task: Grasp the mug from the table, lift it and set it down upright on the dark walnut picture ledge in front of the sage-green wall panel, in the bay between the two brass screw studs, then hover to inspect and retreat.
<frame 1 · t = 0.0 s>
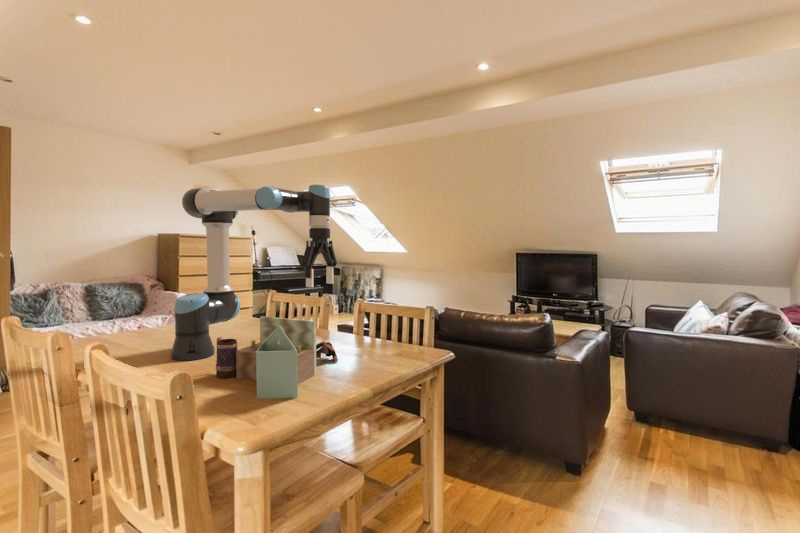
hand: (320, 285, 154), 28 cm above the table, fingers open, 13 cm apart
mug: (225, 375, 139), on the table
brown arched figurine: (324, 361, 155), on the table
planter: (269, 395, 121), on the table
wall shelf: (277, 376, 137), on the table
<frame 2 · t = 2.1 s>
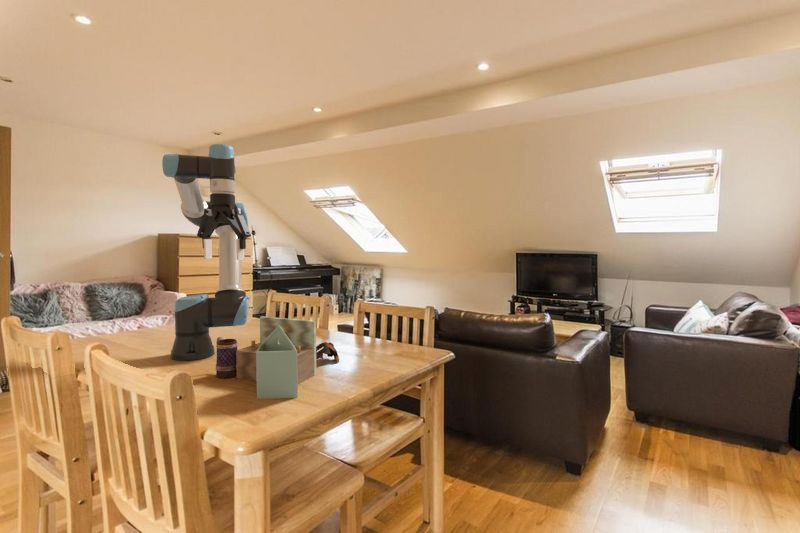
hand: (224, 259, 137), 38 cm above the table, fingers open, 13 cm apart
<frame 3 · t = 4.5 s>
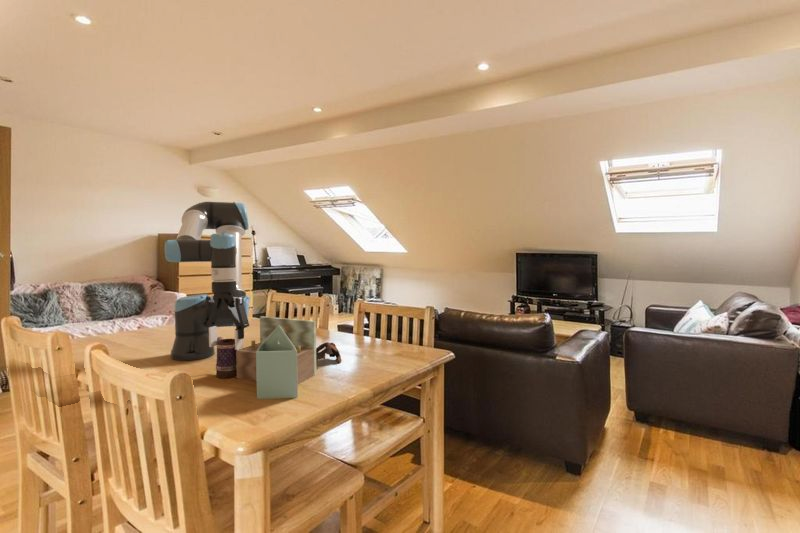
hand: (226, 347, 138), 9 cm above the table, fingers open, 10 cm apart
mug: (225, 374, 139), on the table, touching gripper
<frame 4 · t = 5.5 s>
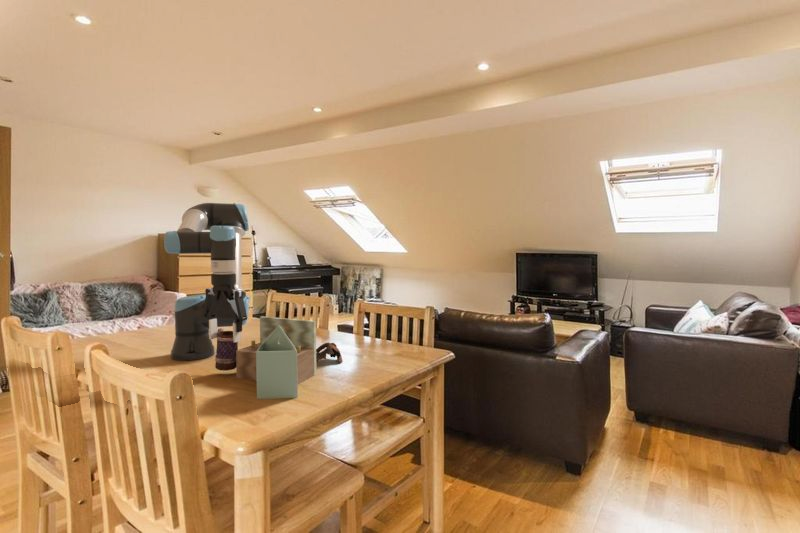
hand: (225, 339, 139), 12 cm above the table, fingers closed on mug, 9 cm apart
mug: (224, 366, 140), point 2 cm above the table, touching gripper
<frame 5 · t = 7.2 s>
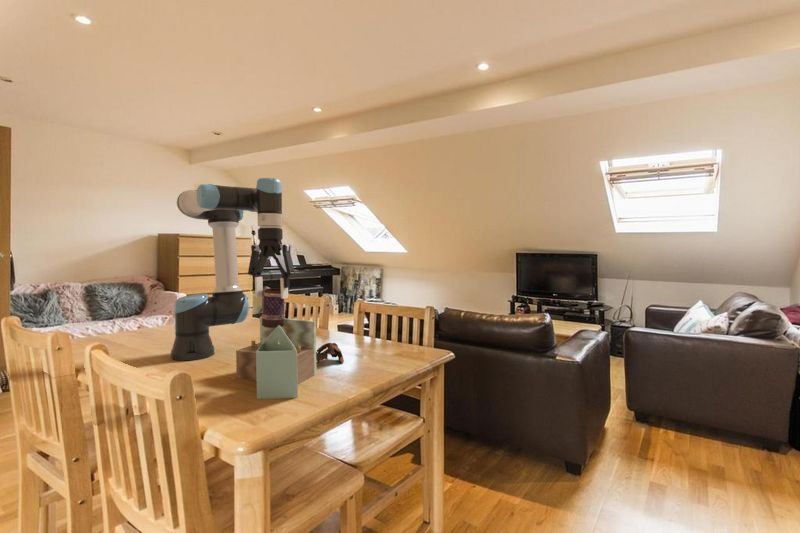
hand: (271, 297, 134), 26 cm above the table, fingers closed on mug, 9 cm apart
mug: (270, 325, 135), point 17 cm above the table, touching gripper
when the fingers open (19 cm above the table, at t = 9.0 s): mug drops 1 cm, resting on wall shelf.
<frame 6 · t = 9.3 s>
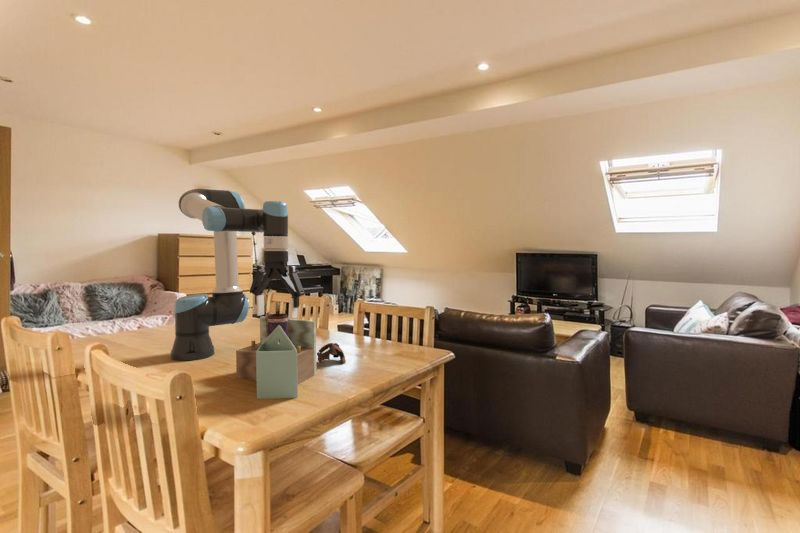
hand: (277, 316, 135), 20 cm above the table, fingers open, 12 cm apart
mug: (275, 350, 136), point 9 cm above the table, touching wall shelf
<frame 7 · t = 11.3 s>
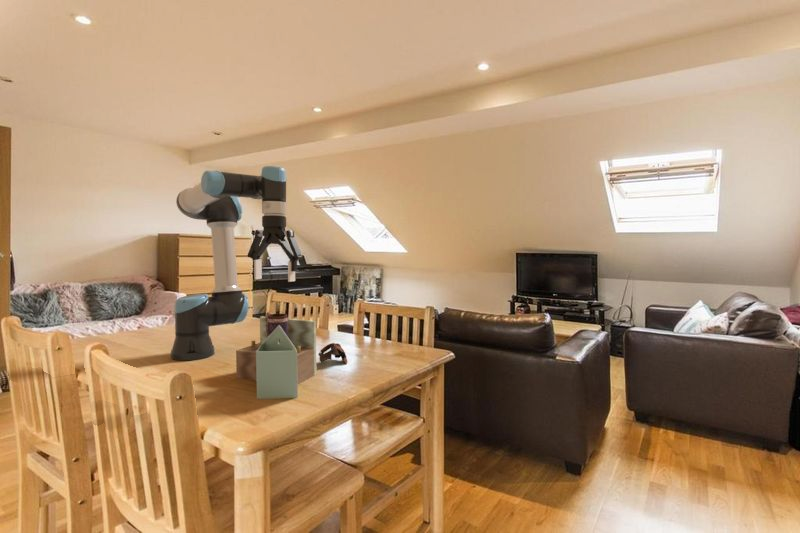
hand: (274, 280, 137), 31 cm above the table, fingers open, 13 cm apart
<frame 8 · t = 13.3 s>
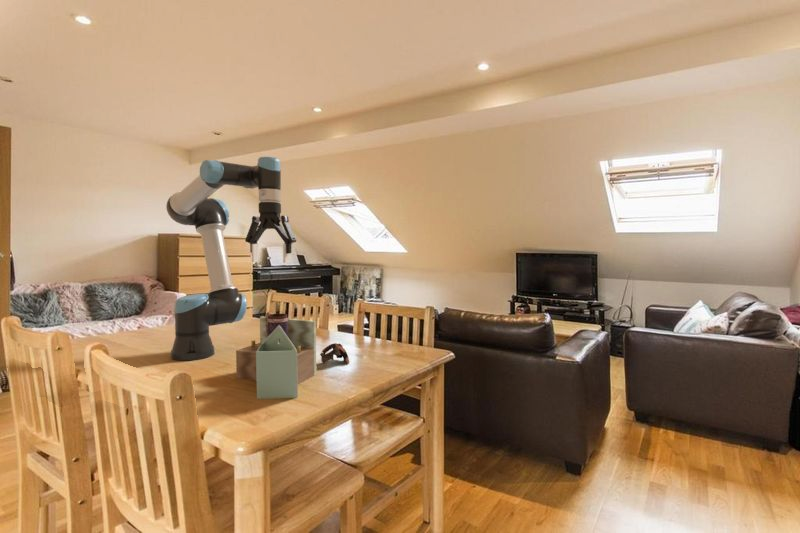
hand: (270, 262, 148), 37 cm above the table, fingers open, 13 cm apart
at the end: mug inside the target area (0.8 cm from its centre), point 8.8 cm above the table; mug tilted 0°; the gripper is holding nothing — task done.
